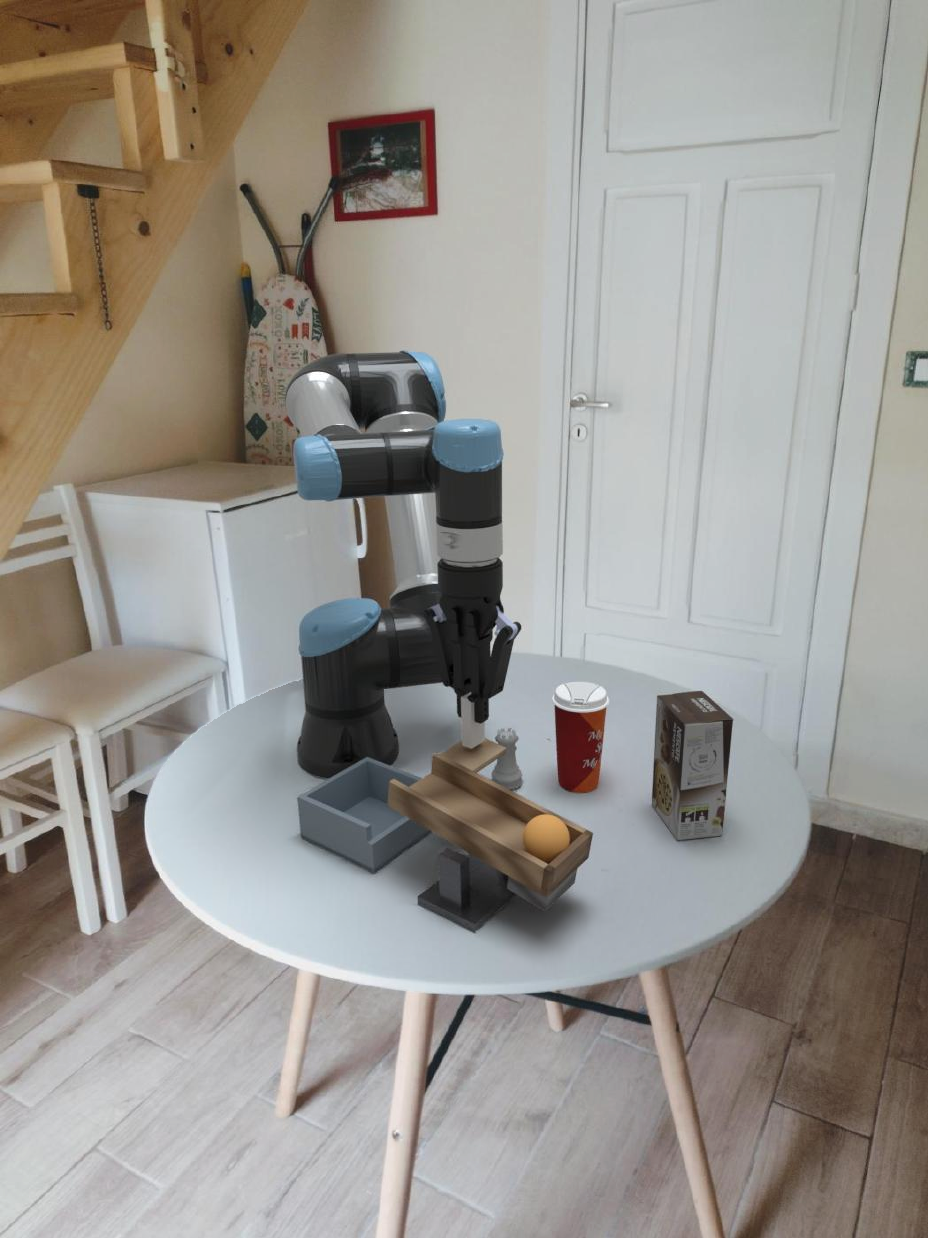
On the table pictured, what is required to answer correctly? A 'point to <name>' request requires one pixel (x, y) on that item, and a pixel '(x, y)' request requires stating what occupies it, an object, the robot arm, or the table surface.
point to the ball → (545, 837)
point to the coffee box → (691, 764)
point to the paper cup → (579, 734)
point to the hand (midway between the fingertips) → (473, 742)
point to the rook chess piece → (507, 761)
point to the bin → (359, 815)
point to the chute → (489, 821)
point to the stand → (466, 890)
